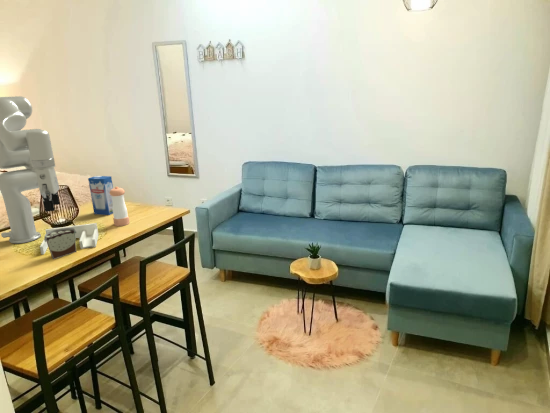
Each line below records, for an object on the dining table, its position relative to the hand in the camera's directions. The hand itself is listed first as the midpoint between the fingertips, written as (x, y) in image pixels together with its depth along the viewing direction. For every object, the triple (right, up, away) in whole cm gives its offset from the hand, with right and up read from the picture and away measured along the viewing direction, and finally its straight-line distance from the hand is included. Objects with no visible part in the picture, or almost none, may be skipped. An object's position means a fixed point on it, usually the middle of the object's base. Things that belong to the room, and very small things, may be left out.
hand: (52, 207), depth 157 cm
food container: (-3, -19, +12) cm, 23 cm away
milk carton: (-7, -3, +66) cm, 67 cm away
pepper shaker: (+9, -8, +47) cm, 49 cm away
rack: (-4, -16, +22) cm, 28 cm away
